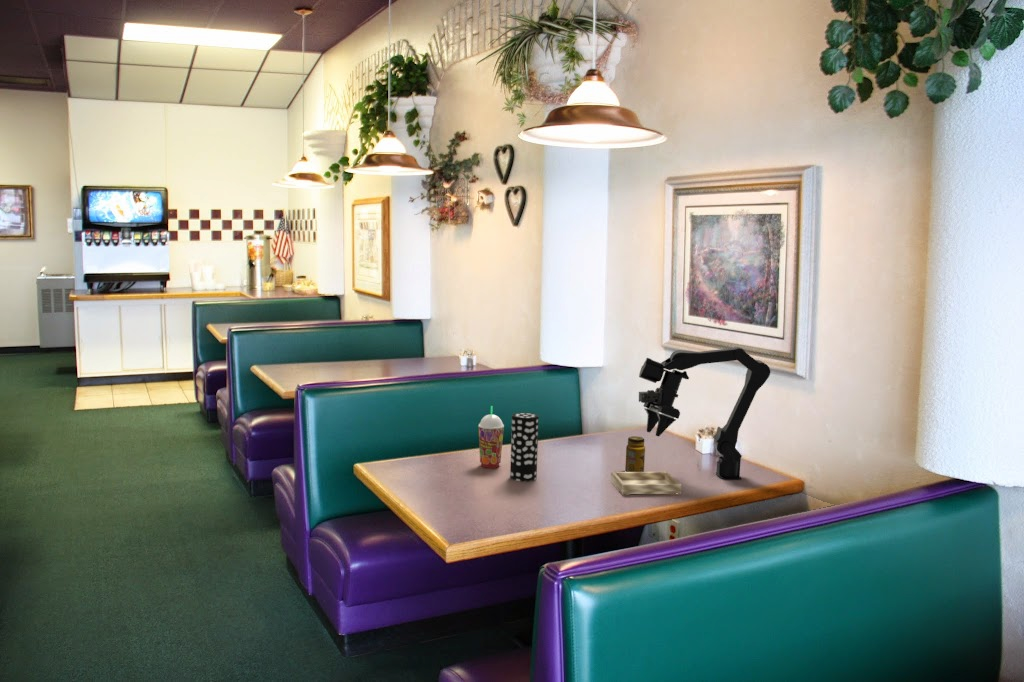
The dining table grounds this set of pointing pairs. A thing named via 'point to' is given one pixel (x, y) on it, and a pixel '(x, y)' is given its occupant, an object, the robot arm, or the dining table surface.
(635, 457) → the condiment
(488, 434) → the smoothie
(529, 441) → the white-spotted black cylinder
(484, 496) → the dining table surface
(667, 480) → the tray
